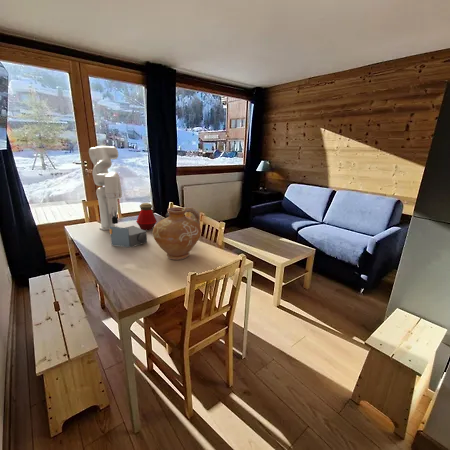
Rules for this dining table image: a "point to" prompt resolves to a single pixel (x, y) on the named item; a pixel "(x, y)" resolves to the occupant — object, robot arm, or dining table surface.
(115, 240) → the side door
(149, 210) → the bottle
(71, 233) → the dining table surface
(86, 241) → the dining table surface
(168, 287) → the dining table surface
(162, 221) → the jug
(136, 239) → the box
